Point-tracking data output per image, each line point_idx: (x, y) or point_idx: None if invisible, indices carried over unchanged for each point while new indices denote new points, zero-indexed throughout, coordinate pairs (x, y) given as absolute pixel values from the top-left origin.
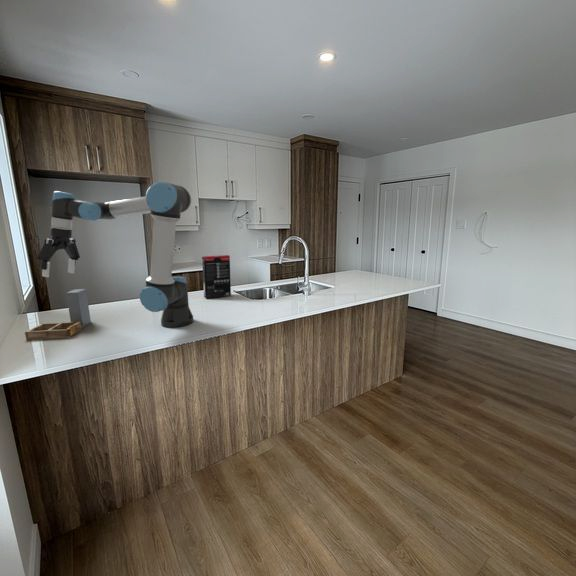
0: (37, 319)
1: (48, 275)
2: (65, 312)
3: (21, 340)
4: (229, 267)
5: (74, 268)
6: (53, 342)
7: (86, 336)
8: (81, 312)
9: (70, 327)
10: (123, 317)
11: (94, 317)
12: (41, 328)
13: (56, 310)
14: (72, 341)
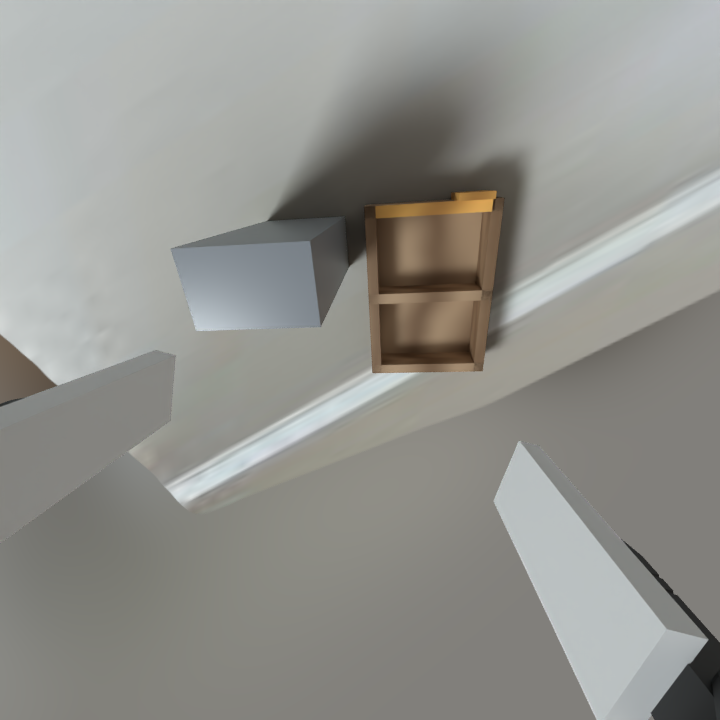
0: (242, 446)
1: (539, 455)
2: None
3: None
4: None
5: (101, 370)
6: (545, 232)
7: (504, 104)
8: (328, 223)
9: (495, 191)
10: (176, 48)
11: None
12: (396, 358)
13: None
14: (564, 142)
